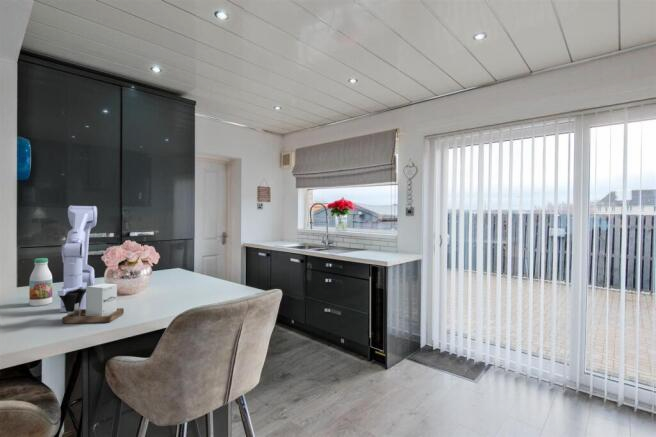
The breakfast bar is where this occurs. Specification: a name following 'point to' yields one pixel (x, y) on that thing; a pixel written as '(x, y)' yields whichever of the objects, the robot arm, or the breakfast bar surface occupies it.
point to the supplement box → (101, 299)
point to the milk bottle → (40, 284)
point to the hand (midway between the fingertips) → (72, 310)
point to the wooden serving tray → (77, 318)
